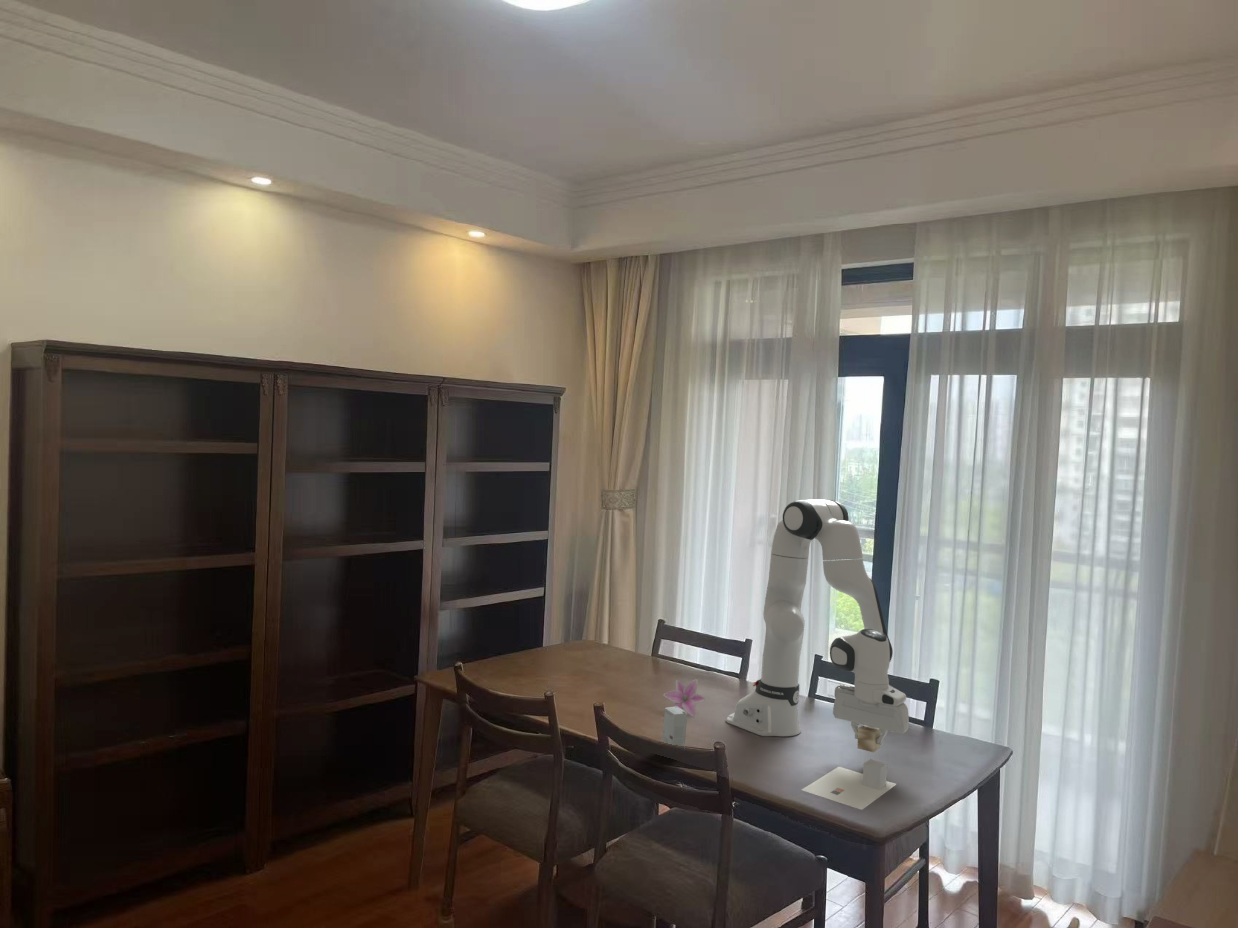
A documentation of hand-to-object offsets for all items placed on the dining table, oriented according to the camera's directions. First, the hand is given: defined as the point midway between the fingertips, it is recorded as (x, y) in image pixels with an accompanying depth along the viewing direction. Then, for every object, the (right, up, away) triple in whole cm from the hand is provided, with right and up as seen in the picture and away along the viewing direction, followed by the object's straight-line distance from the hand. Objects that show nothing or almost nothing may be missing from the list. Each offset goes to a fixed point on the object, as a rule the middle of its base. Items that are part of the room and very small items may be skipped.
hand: (868, 741), depth 238 cm
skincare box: (-53, -4, +2) cm, 53 cm away
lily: (-47, -3, +39) cm, 62 cm away
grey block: (-2, -7, -13) cm, 15 cm away
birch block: (0, -2, 0) cm, 2 cm away
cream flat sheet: (-9, -7, -15) cm, 19 cm away
